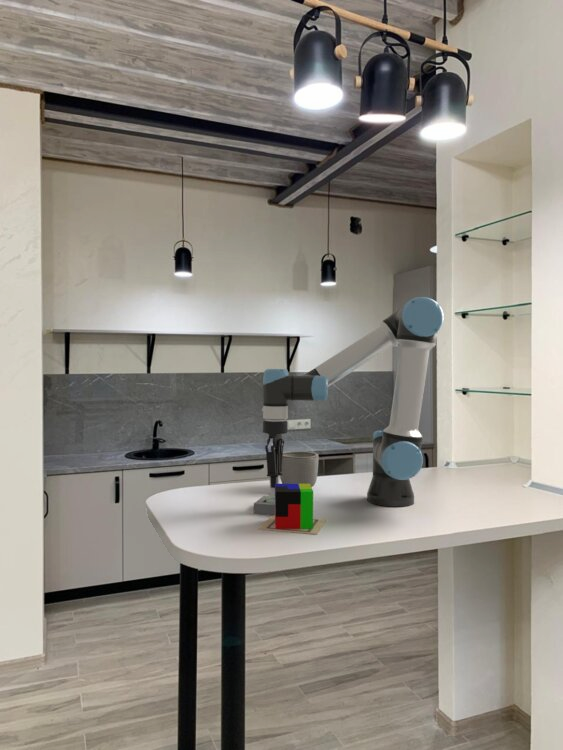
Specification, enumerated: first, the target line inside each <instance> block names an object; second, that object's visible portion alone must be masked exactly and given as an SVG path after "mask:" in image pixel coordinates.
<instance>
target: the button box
mask: <svg viewBox="0 0 563 750" xmlns="http://www.w3.org/2000/svg"><path fill="white" fill-rule="evenodd" d="M267 497H270V495H262V496H261V497H260V498H259V499H257V501H255V502H254V503H253V514H256V515H257V514H258V515H267V516H268V515H270V516H272V515H273V516H275V503H266V498H267Z"/></svg>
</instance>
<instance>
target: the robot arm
mask: <svg viewBox="0 0 563 750" xmlns="http://www.w3.org/2000/svg"><path fill="white" fill-rule="evenodd" d="M443 323H444V312H443V309H442V307H441V306H440V304H439V303H438V302H437V301H436V300H434V299H432V298H430V297H428V296H427V297H426V296H421V297H420V296H419V297H414V298H411V299H410V300H408V301H407V302H405V303H403V304H402V305H400V306H399V307H398V308H397V309H396V310H395V311H394V312H393V313H392V314H390V315H389V316H388V317H386V318H385V319H383V320H382V321H380V325H379V326H378V327H377V328H375V329H374V330H372V331H371V332H369V333H367V334H365V335H364V336H362V337H361V338H360V339H358V340H356V341H354V342H353V343H352V344H349V345H348V346H347V347H345V348H343V349H342V350H341V351H340V352H337V353H336V354H335V355H332V356H331V357H330V358H328V359H327V360H325V361H323V362H322V363H321V364H319V365H317V366H316V367H314V368H313V369H311V370H309V371H307V372H306V373H305V374H303V375H290V374H289V371H288V369H287V368H266V369H265V370H264V371H263V380H262V408H261V412H262V418H263V421H262V432H263V434H267V435H268V439H267V441H266V444H267V445H266V444H265V448H264V449H265V453H266V456H265V457H266V469H267V471H266V472H267V474H266V476H267V477H269V496H270V498H275V484H281V478H280V475H281V476H282V475H283V473H280V472H282V460H283V452H284V446H285V440H284V439H283V437H282V435H284V434H287V433H288V428H289V424H288V423H289V422H288V418H289V406H288V405H289V401H305V402H306V401H310V402H311V401H312V402H313V401H314V402H319V401H320V402H322V401H326V400H327V399H328V394H329V390H328V389H329V387H330V386H332V385H333V384H335V383H337V382H338V381H340V380H342V379H343V378H344V377H346V376H348V375H349V374H351V373H353V372H354V371H356V370H357V369H359V368H360V367H362V366H364V365H365V364H367V363H368V362H370V361H371V360H373V359H375V358H376V357H378V356H379V355H381V354H382V353H384V352H386V351H387V350H389V349H390V348H392V347H396V348H397V347H399V355H398V361H397V368H396V376H395V383H394V390H393V397H392V404H391V411H390V418H389V425H388V426H386V427H385V428H384V429H383V430H375V431H374V432H373V435H372V436H373V437H372V439H371V440H372V476H371V477H372V478H371V481H370V482H369V486H368V489H367V492H366V500H367V502H369V503H370V504H374V505H377V506H384V507H406V506H410V505H413V504H414V503H415V493H414V491H413V486H412V483H411V480H410V479H413V478H414V477H416V475H418V474H419V473H420V471H421V470H422V467H423V463H424V457H423V454H422V444H423V437H424V436H423V435H422V434H421V432H420V430H419V426H420V419H421V413H422V406H423V399H424V398H423V397H424V391H425V387H426V386H425V384H426V377H427V371H428V364H429V358H430V356H429V355H430V351H431V350H432V349H433V348H435V346H437V345H436V344H437V339H438V332H439V331H440V330H441V328H442V326H443Z"/></svg>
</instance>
